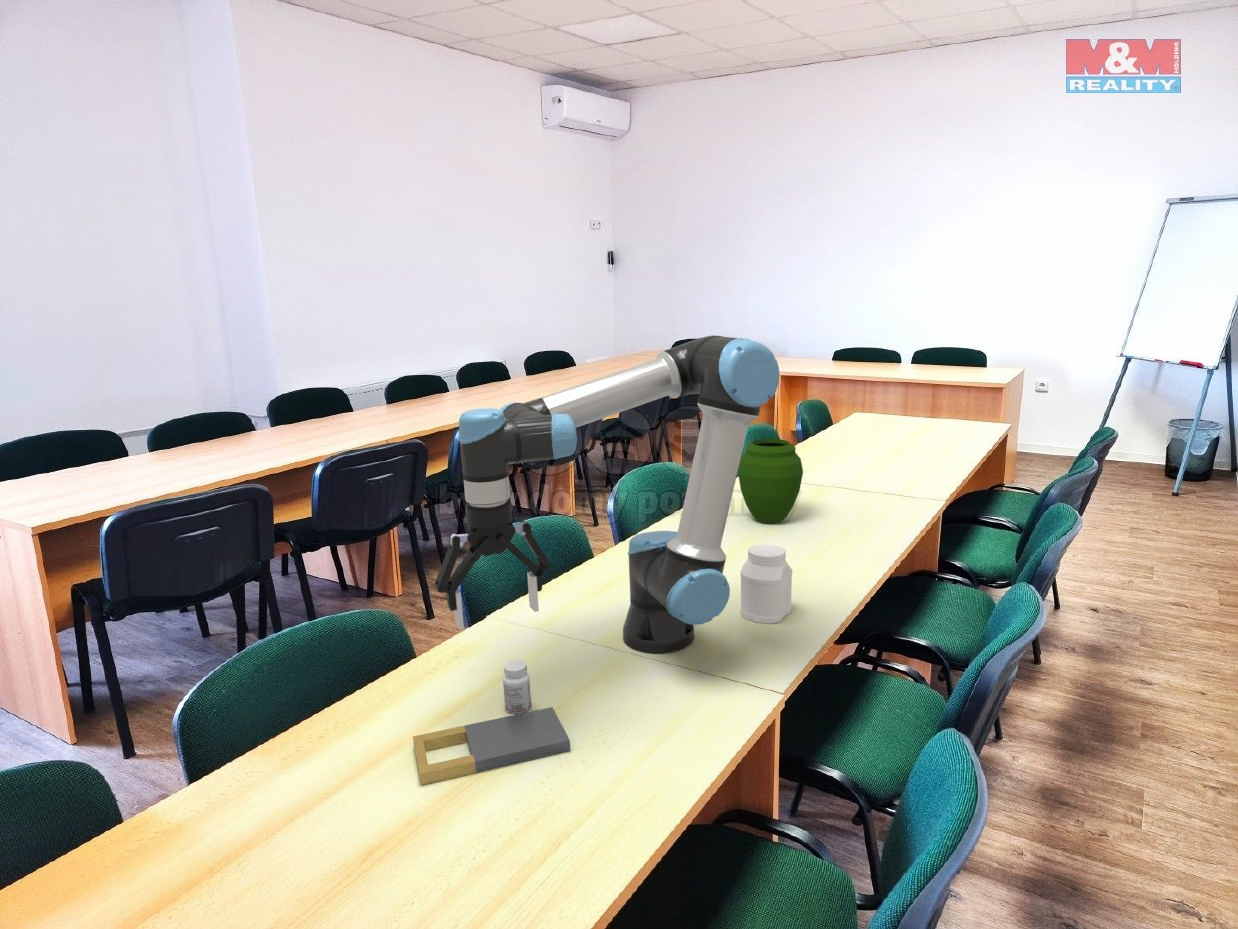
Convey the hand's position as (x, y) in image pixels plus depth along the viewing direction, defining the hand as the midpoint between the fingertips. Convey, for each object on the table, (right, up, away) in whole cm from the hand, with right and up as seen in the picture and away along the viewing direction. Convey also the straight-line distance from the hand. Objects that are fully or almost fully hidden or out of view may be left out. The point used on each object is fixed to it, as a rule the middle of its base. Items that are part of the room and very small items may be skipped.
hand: (497, 617), depth 140 cm
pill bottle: (+3, -17, +5) cm, 18 cm away
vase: (+68, +10, +106) cm, 126 cm away
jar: (+54, -7, +41) cm, 68 cm away
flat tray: (0, -20, -8) cm, 22 cm away
